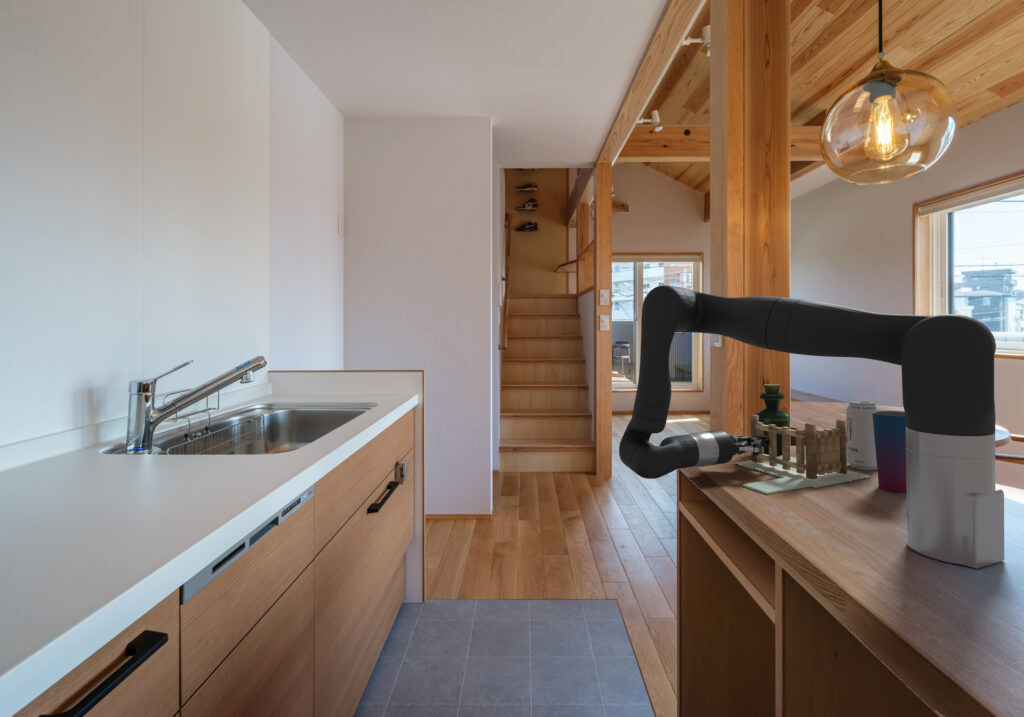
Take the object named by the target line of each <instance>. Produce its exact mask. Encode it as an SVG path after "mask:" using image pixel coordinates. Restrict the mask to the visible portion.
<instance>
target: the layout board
mask: <svg viewBox="0 0 1024 717" xmlns="http://www.w3.org/2000/svg"><path fill="white" fill-rule="evenodd" d="M777 457H779V458H782V456H777ZM790 460H791V461H795V462H796V456H795V457H794V456H791V455H790ZM735 463H736V464H739V465H742V466H741V467H743V466H745V467H744V468H746V467H748V468H747V469H750V468H751V469H750V470H753V469H755V470H754V471H756V470H758V471H757V472H760V471H761V472H760V473H763V472H764V473H763V474H766V473H767V475H770V476H773V477H777V478H773V479H767V480H760V481H755V482H748V483H743V484H742V487H743V488H747V489H749V490H752V491H754V492H758V493H761V494H764V495H772V494H773V495H774V494H777V493H784V492H788V491H794V490H799V489H804V488H810V487H811V488H813V489H814V488H815V489H817V488H822V487H828V486H832V485H838V484H843V483H847V482H848V481H849V482H853V481H852V480H855V481H859V480H858V479H860V480H865V479H864V478H866V479H870V478H871V475H869V474H865V473H861V472H856V471H853V470H849V469H847V474H842V473H838V472H837V473H836V472H833V473H831V474H827V473H825V475H818V474H817V479H808V478H806V470H805V474H799V473H797V470H796V468H792V467H791V470H784V469H783V467H782V465H780V464H777V466H775V467H773V466H770V465H769V461H765V460H764V463H758V462H753V461H751V459H750V460H745V461H744V460H743V461H737V462H736V461H735ZM736 464H735V465H736ZM805 464H806V459H805ZM739 465H738V466H739ZM869 477H870V478H869ZM849 482H848V483H849Z"/></svg>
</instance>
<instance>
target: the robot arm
mask: <svg viewBox="0 0 1024 717" xmlns="http://www.w3.org/2000/svg"><path fill="white" fill-rule="evenodd" d="M640 318H641V319H640V321H641V322H640V324H641V325H640V327H641V330H640V331H641V332H640V353H639V354H640V356H639V370H638V372H639V373H638V380H637V387H636V394H635V398H634V401H633V402H634V403H633V408H632V414H631V419H630V420H629V422H628V424H627V426H626V428H625V430H624V433H623V435H622V437H621V439H620V442H619V446H618V454H619V458H620V461H621V462H622V463H623V465H625V466H626V467H627V468H629V470H631V471H632V472H634V473H635V475H638V476H639V477H641V478H643V479H649V480H655V479H659V478H662V477H664V476H666V475H668V474H670V473H673V472H674V471H676V470H678V469H686V468H692V467H693V468H694V467H695V468H702V467H709V466H716V465H724V464H727V463H729V462H731V460H732V459H733V458H734V456H742V455H743V454H748V453H750V454H751V453H752V454H753V455H755V456H757V455H759V454H760V453H761V451H762V447H765V446H769V437H767V436H756V437H751V435H746V436H744V435H742V434H729V433H727V432H726V431H724V430H722V429H713V430H705V431H696V432H691V433H688V434H680V435H671V436H668V437H665V438H663V439H662V440H661V442H660V443H659V445H654V444H653V443H652V442H650V439H651V436H652V434H659V433H662V432H663V431H664V430H665V428H666V426H667V425H666V424H667V421H668V415H669V411H670V405H671V402H672V401H671V400H672V378H671V374H670V373H671V372H670V354H671V353H670V352H671V347H672V346H671V345H672V342H673V339H674V336H675V334H676V333H697V334H711V335H718V336H724V337H728V338H731V339H733V340H735V341H739V342H741V343H744V344H747V345H749V346H752V347H757V348H761V349H766V350H768V351H769V350H770V351H775V352H781V353H786V354H794V355H802V356H811V357H813V356H814V357H824V358H825V357H827V358H855V359H856V358H857V359H868V360H872V361H873V360H874V361H879V362H883V363H888V364H893V365H897V366H900V367H901V386H902V387H901V389H902V393H901V394H902V395H901V396H902V406H903V411H904V412H905V416H906V493H905V495H906V544H907V545H908V548H910V549H912V550H913V551H915V552H916V553H919V554H921V555H923V556H926V557H928V558H931V559H935V560H938V561H941V562H944V563H945V562H947V563H950V564H957V565H963V566H966V567H970V568H972V569H980V568H981V569H982V568H984V567H987V566H991V565H995V564H997V563H1000V562H1004V561H1005V492H1004V490H1002V489H1001V488H996V403H995V354H996V350H997V344H996V338H995V336H994V335H993V332H992V331H991V330H990V329H989V327H988V326H986V325H985V324H984V323H983V322H981V321H980V320H978V319H977V318H976V319H975V318H973V317H971V316H967V315H962V314H955V313H946V314H937V315H934V314H933V315H925V314H924V315H923V314H919V315H918V314H916V315H915V314H896V313H895V314H893V313H882V312H875V311H874V312H872V311H868V310H862V309H858V308H854V307H850V306H845V305H839V304H833V303H828V302H824V301H816V300H811V299H804V298H802V299H801V298H795V297H794V298H793V297H782V296H767V295H765V296H763V295H762V296H759V295H758V296H757V295H756V296H741V297H740V296H739V297H729V296H728V297H727V296H720V295H716V294H715V295H714V294H708V293H705V292H700V291H696V290H692V289H690V288H686V287H682V286H681V287H679V286H674V285H668V284H667V285H663V284H662V285H658V286H656V287H654V288H652V289H650V291H649V292H648V293H646V295H645V298H644V300H643V303H642V307H641V317H640Z"/></svg>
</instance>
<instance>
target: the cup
mask: <svg viewBox="0 0 1024 717" xmlns="http://www.w3.org/2000/svg"><path fill="white" fill-rule="evenodd" d="M872 416H873V427H874V438H875V450H876V461H877V469H876V470H877V479H878V488H879V489H881V490H882V489H883V491H885V490H886V492H890V493H899V494H906V416H905V411H904V410H879V411H873V412H872Z"/></svg>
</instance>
